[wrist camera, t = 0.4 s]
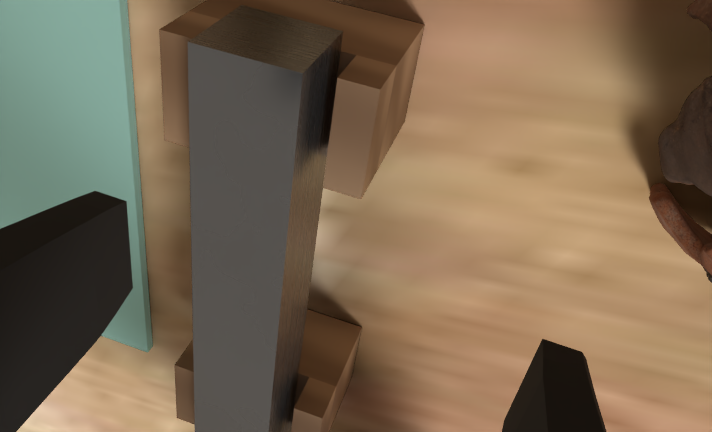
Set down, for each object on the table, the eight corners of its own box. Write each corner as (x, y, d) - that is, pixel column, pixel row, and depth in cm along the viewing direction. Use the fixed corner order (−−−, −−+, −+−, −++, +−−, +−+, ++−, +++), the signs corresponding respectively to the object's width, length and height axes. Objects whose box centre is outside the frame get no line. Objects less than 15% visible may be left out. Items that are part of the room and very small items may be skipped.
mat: (152, 346, 30) (147, 352, 30) (19, 298, 31) (13, 304, 31) (116, -147, 18) (107, -145, 18) (-100, -196, 19) (-112, -194, 19)
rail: (290, 432, 25) (262, 492, 23) (228, 409, 26) (195, 465, 24) (343, 31, 16) (302, 73, 13) (241, 4, 16) (187, 42, 14)
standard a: (351, 377, 27) (313, 469, 24) (230, 335, 28) (177, 417, 24) (361, 327, 25) (322, 418, 22) (232, 284, 26) (174, 365, 23)
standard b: (404, 121, 20) (361, 198, 16) (239, 75, 21) (164, 140, 17) (424, 24, 18) (380, 89, 14) (241, -22, 19) (159, 29, 15)
